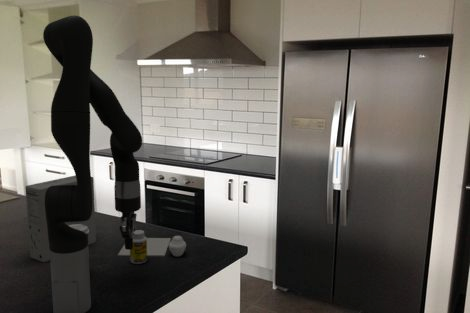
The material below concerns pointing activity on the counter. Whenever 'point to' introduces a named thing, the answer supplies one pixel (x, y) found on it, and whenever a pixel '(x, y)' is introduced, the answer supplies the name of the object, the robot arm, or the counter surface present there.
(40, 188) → the cereal box
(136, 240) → the supplement bottle
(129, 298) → the counter surface
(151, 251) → the topple mat
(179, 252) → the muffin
